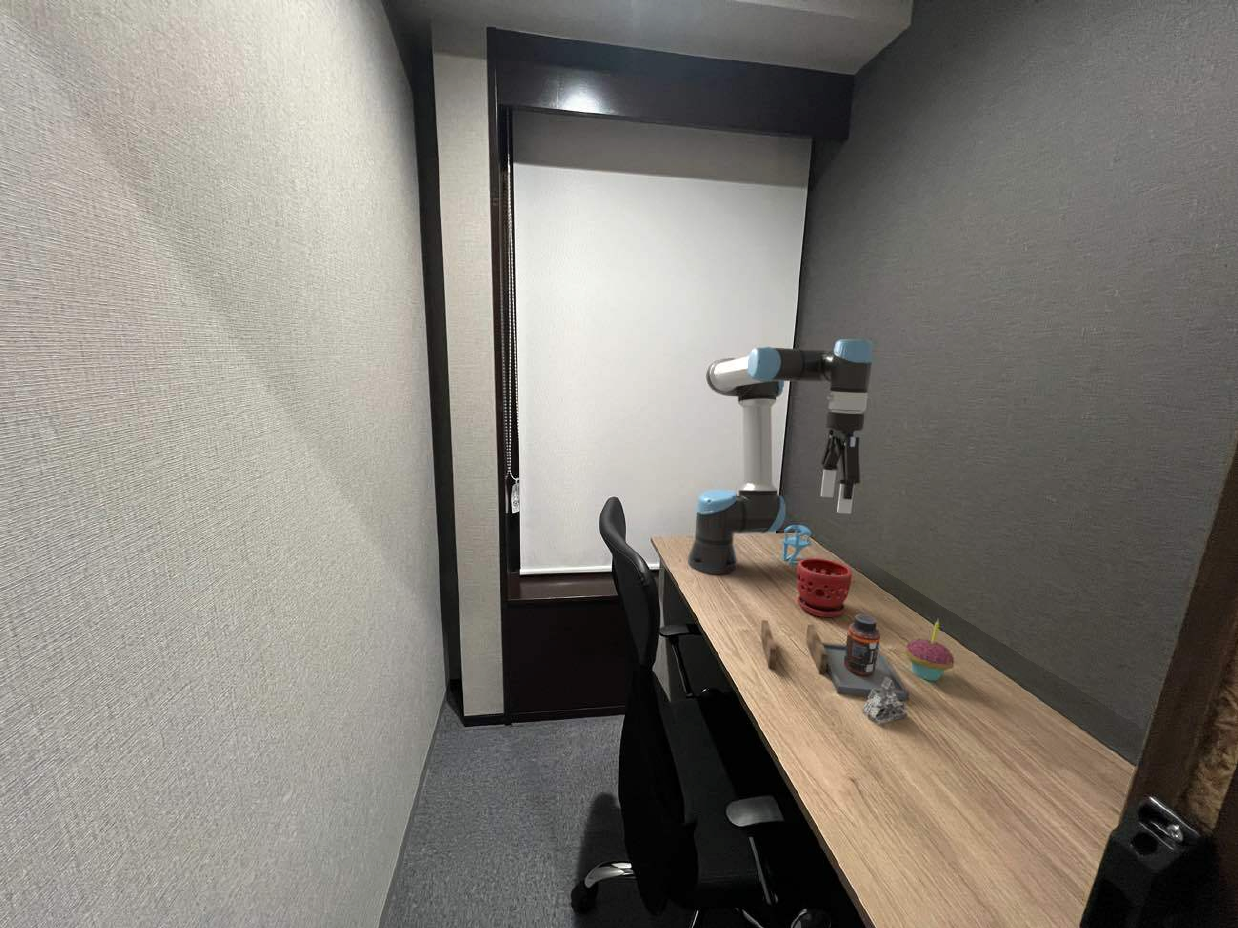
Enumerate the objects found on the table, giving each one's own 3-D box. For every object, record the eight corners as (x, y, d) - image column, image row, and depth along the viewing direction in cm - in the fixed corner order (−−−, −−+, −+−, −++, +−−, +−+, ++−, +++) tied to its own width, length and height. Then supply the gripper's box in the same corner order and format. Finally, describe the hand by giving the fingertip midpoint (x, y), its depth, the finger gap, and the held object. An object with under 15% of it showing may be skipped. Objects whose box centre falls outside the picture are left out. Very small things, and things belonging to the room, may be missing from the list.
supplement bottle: (878, 679, 101) (886, 628, 99) (846, 674, 102) (853, 624, 100) (870, 662, 107) (877, 613, 104) (840, 657, 108) (847, 609, 106)
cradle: (760, 637, 116) (762, 620, 115) (811, 642, 115) (813, 624, 114) (768, 668, 105) (770, 648, 104) (825, 674, 103) (827, 654, 102)
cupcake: (910, 657, 110) (918, 607, 108) (955, 675, 104) (965, 622, 102) (897, 673, 104) (906, 621, 102) (944, 693, 98) (954, 637, 96)
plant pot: (858, 616, 128) (864, 573, 126) (817, 624, 123) (822, 579, 121) (821, 594, 140) (826, 554, 138) (783, 600, 135) (787, 559, 133)
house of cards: (877, 688, 100) (882, 653, 98) (914, 717, 92) (921, 680, 90) (840, 696, 97) (845, 661, 95) (876, 727, 89) (882, 689, 87)
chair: (776, 559, 164) (779, 524, 162) (794, 555, 168) (797, 521, 166) (794, 568, 157) (798, 532, 155) (812, 564, 161) (816, 528, 159)
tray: (817, 647, 113) (817, 641, 113) (877, 653, 111) (878, 647, 111) (837, 693, 97) (838, 686, 97) (908, 700, 96) (909, 693, 95)
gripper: (814, 406, 122) (805, 489, 127) (845, 416, 98) (833, 519, 102) (846, 407, 121) (836, 491, 126) (886, 418, 97) (871, 522, 101)
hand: (834, 504), depth 114 cm, fingers open, 13 cm apart
